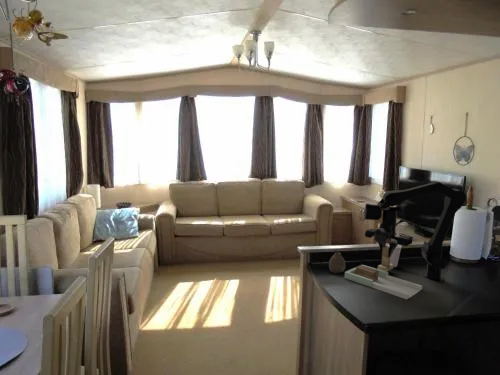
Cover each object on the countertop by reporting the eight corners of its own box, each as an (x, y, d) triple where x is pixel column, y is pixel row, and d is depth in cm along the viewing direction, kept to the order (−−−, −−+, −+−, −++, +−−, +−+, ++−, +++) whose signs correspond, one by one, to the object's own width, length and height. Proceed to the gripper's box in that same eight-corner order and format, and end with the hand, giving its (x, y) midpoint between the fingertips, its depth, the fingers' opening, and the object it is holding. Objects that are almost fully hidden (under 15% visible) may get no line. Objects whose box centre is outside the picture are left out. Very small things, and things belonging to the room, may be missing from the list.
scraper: (385, 266, 162) (386, 244, 161) (392, 268, 160) (394, 246, 158) (377, 270, 157) (379, 247, 156) (385, 272, 155) (386, 249, 154)
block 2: (368, 276, 153) (369, 267, 153) (377, 279, 151) (378, 270, 150) (363, 279, 151) (364, 269, 150) (372, 282, 148) (373, 272, 147)
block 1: (360, 274, 156) (361, 265, 156) (368, 276, 154) (369, 267, 153) (355, 276, 154) (356, 267, 153) (364, 279, 151) (364, 269, 150)
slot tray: (361, 272, 161) (362, 264, 161) (422, 291, 143) (423, 282, 142) (344, 280, 152) (344, 272, 151) (406, 301, 133) (407, 292, 133)
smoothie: (401, 268, 167) (403, 239, 165) (386, 267, 168) (388, 237, 166) (398, 264, 173) (401, 235, 171) (384, 262, 174) (386, 234, 172)
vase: (346, 271, 162) (347, 252, 161) (343, 276, 156) (344, 256, 154) (330, 268, 165) (331, 249, 163) (326, 273, 159) (328, 254, 157)
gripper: (359, 219, 157) (356, 254, 159) (402, 228, 143) (399, 266, 146) (372, 216, 164) (369, 249, 167) (414, 224, 151) (410, 260, 153)
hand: (386, 256), depth 158 cm, fingers closed on scraper, 2 cm apart
